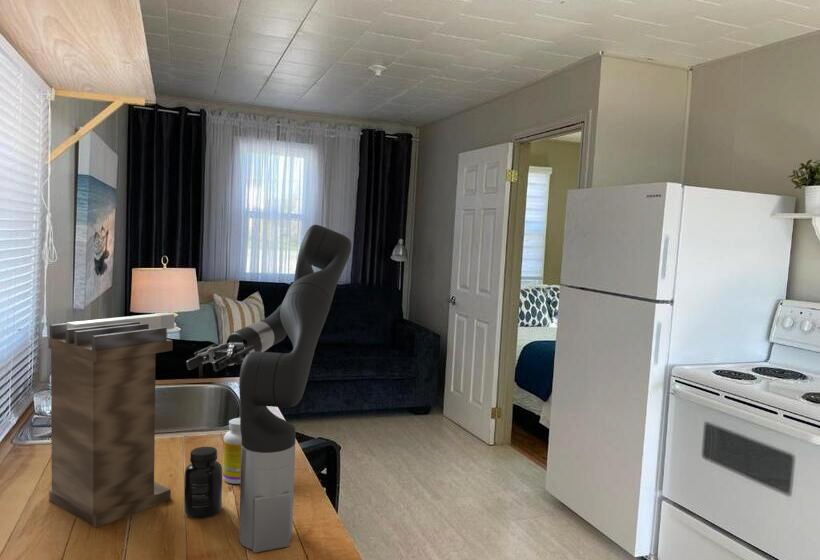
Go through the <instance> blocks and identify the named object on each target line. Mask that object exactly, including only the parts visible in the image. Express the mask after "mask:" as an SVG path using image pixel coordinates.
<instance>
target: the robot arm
mask: <svg viewBox="0 0 820 560" xmlns="http://www.w3.org/2000/svg"><path fill="white" fill-rule="evenodd" d="M351 251H352V242H351V239H350V238H349V237H347V236H346V235H344V234H342V233H339V232H338V231H335V230H333V229H331V228H327V227H326V226H322V225H319V224H313V225H311V226H310V227H309V228H308V229H307V231H306V232H305V234H304V236H303V238H302V241H301V244H300V247H299V249H298V253H297V260H296V264H295V265H296V266H295V272H294V276H293V277H294V278H293V283H291V285H290V286H289V287H288V289H287V291H286V294H285V297H284V299H283V300H282V302H281V304H280V305H279V306H278V307H277V308H276V310H274V311H273V312H272V313H271V314H270V315H268V316H267V317H265V318H263V319H261V320H259V321H256V322H254V323H250V324H248V325H246V326H244V327H242V328H240V329H238V330H236V331H234V332H232V333H230V334H229V335H228V337H227V340H226V342H224V343H221V344H219V345H217V346H216V344H211V345H209V346H207V347H204V348H202V349H200V350H198V351H194V353H193V354H194V357H191V358H189V359H188V360H186V362H185V365H186V367H187V370H189V371H192V370H194V369H196V368H198V367H199V366H202V365H205V364H208V363H210V364H212V367H213V371H214V372H220V371H221V370H223V369H225V368H227V367H229V366H232V367H233V366H234V365H235V364H236V365H237V366H239V365H240V370H239V380H238V381H239V384H238V385H239V389H238V390H239V391H238V392H239V412H240V413H239V415H240V416H239V418H240V430H241V436H242V442H241V480H240V484H239V485H240V488H239V489H240V491H239V528H238V530H239V534H238V535H239V537H238V538H239V539H238V540H239V542H240V545H241V546H242V547H245V548H248V549H249V550H252V551H253V553H259V552H260V553H261V552H266V551H271V550H277V549H281V548H286V547H290V543H291V540H292V539H293V531H294V530H293V529H294V526H293V525H294V498H295V497H294V496H295V495H294V494H295V492H294V491H295V490H294V489H295V464H296V463H295V460H296V436H297V435H296V433H297V432H296V428H295V427H294V425H293V424H292V423H291V422H289V421H287V420H285V419H283V418H281V417H279V416H277V415H276V414H274V413H273V412H272V411H271V410H270V409H269V408H268V407H271V408H273V407H274V408H292V407H295V406H298V405H299V403H300V401H301V400H302V398H303V395H304V394H305V390H306V386H307V383H308V378H309V375H310V371H311V366H312V362H313V358H314V355H315V351H316V347H317V344H318V341H319V338H320V336H321V333H322V331H323V328H324V326H325V323H326V320H327V317H328V315H329V312H330V309H331V305H332V302H333V298H334V295H335V291H336V289H337V285H338V283H339V280H340V278H341V276H342V274H343V272H344V270H345V267H346V265H347V263H348V260H349V258H350V254H351ZM313 267H315V268H317V269H320V270H318V271H314V268H313ZM287 336H288V338H289V340H290V342H291V345H292V350H291V351H290V352H289V353H288V352H287V353H284V352H269V351H267V350H268V349H270V348H271V347H273V346H274V345H276V344H279V343H281V342H282V341H284V340H285V338H286V337H287ZM214 357H215V358H214Z"/></svg>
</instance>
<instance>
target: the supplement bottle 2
mask: <svg viewBox="0 0 820 560" xmlns="http://www.w3.org/2000/svg"><path fill="white" fill-rule="evenodd" d="M228 429H229V430H228V431H227V432H226V433H225V434H224V435H223V436H224V437H223V455H222V456H223V460H222V462H223V463H222V480H223V481H225V482H226V483H228V484H232V485H233V484H235V485H236V484H237V485H240V480H241V442H242V436H241V430H240V417H235V418H232V419H230V420H228Z"/></svg>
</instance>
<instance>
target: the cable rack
mask: <svg viewBox="0 0 820 560" xmlns="http://www.w3.org/2000/svg"><path fill="white" fill-rule="evenodd" d="M167 330H168V329H167V328H165V327H162V328H153V329H149V324H146V323H144V324H140V322H127V323H118V324H109V325H99V326H90V327H81V328H72V329H67V322H65V323H55V324H50V325H49V337H48V340H47V341H48V349H50V369H51V370H50V372H51V373H50V374H51V375H50V376H51V378H50V381H51V382H50V383H51V384H50V390H51V391H50V397H51V399H50V401H51V402H50V403H51V404H50V407H51V410H50V411H51V415H50V416H51V417H50V418H51V423H50V424H51V426H50V427H51V431H50V432H51V433H50V434H51V435H50V436H51V489H49V491H48V493H49V494H48V499H49V500H48V501H50V502H52V503H53V504H55V505H57V506H58V507H60V508H61V509H63V510H65V511H67V512H69V513H70V514H72V515H74V516H75V517H77V518H78V519H80V520H82V521H84V522H85V523H87V524H89V525H91V526H93V528H99V527H102V526H105V525H107V524H109V523H112V522H115V521H117V520H120V519H123V518H125V517H128V516H131V515H133V514H135V513H138V512H141V511H144V510H146V509H149V508H150V507H154V506H156V505H159V504H162V503H164V502H167V501H169V500H171V495H172V492H171V491H172V490H171V488H168V487H166V486H164V485H162V484H159V482H158V483H157V482H156V481H155V448H156V447H155V444H156V442H155V441H156V440H155V432H156V425H155V424H156V422H155V421H156V417H155V416H156V358H157V357H156V356H157V355H156V354H159V353H166V352H172V351H173V348H174V347H173V343H174V342H173V340H172V339H170V338H169V339H168V337H167V335H168V331H167Z"/></svg>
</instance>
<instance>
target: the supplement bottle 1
mask: <svg viewBox="0 0 820 560" xmlns="http://www.w3.org/2000/svg"><path fill="white" fill-rule="evenodd" d="M189 462H190V463H189V464H188V465H187V466H186V468H185V469H184V494H183V495H184V499H183V501H184V506H183V510H184V514H185V515H186V516H187V517H188V518H191V519H197V520H199V519H201V520H202V519H208V518H212V517H214V516H216V515H218V514H219V513H220V512H221V510H222V505H223V504H222V503H223V502H222V501H223V497H222V496H223V465H222V464H221V463H220V462H219V461H218V450H217V448H216V447H213V446H199V447H195V448H193V449H191V450H190V458H189Z"/></svg>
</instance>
